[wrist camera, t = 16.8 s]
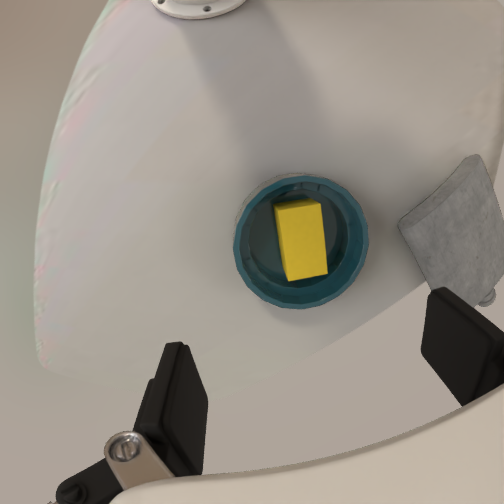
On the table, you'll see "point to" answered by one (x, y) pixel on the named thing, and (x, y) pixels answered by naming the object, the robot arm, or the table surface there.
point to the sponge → (301, 238)
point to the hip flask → (460, 235)
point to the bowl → (268, 250)
